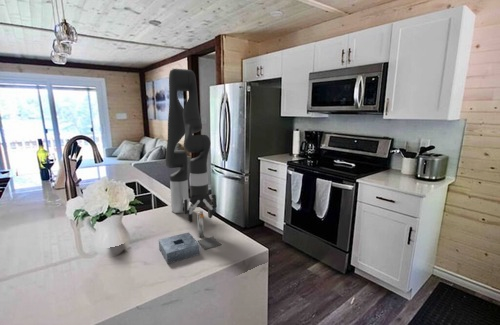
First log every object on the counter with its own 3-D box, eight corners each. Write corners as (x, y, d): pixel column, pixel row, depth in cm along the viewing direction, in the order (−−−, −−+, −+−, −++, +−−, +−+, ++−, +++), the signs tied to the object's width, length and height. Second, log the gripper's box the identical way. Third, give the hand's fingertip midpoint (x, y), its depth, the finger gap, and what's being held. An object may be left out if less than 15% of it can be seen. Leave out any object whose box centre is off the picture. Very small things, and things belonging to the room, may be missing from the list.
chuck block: (159, 249, 102) (158, 239, 101) (189, 241, 108) (188, 232, 107) (167, 263, 92) (166, 253, 91) (199, 254, 98) (199, 244, 97)
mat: (197, 241, 108) (197, 240, 108) (213, 237, 111) (213, 236, 111) (205, 249, 101) (205, 248, 101) (221, 244, 105) (221, 244, 105)
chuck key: (196, 234, 114) (195, 210, 112) (201, 233, 115) (200, 209, 113) (200, 238, 110) (199, 214, 108) (205, 237, 111) (204, 213, 109)
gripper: (211, 179, 115) (212, 213, 118) (179, 183, 108) (181, 220, 110) (218, 182, 109) (219, 219, 112) (185, 187, 101) (187, 226, 104)
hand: (200, 219), depth 111 cm, fingers open, 8 cm apart
